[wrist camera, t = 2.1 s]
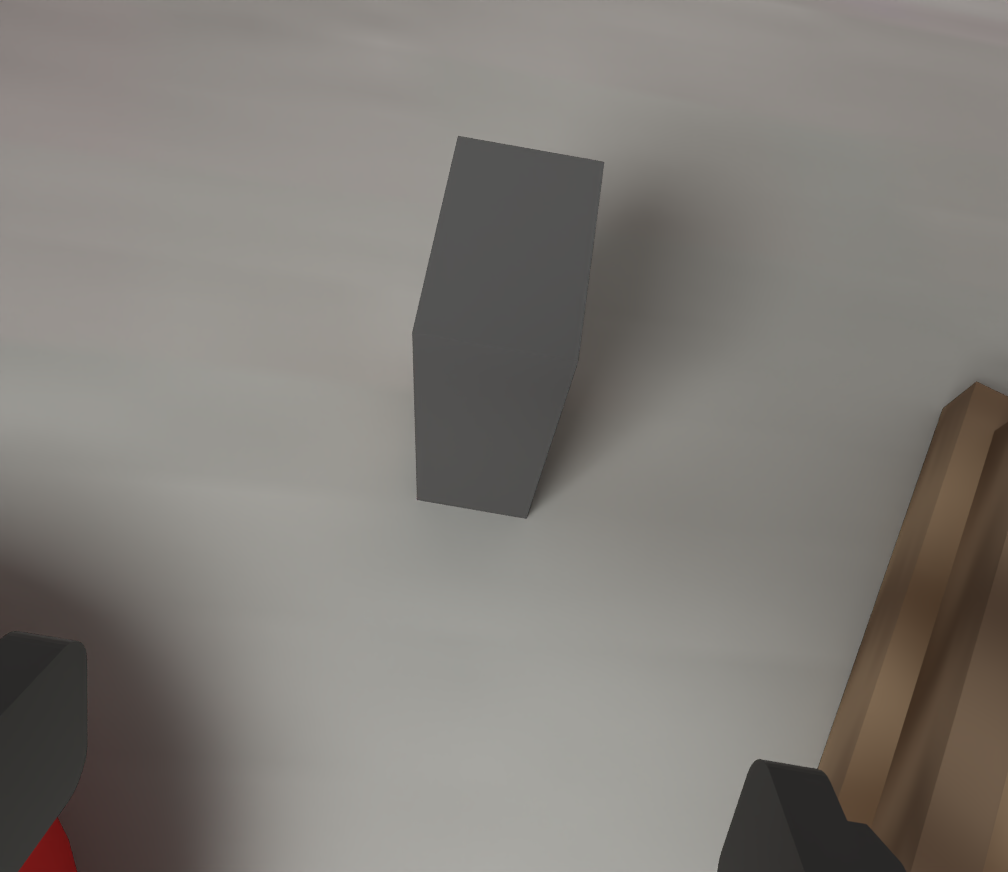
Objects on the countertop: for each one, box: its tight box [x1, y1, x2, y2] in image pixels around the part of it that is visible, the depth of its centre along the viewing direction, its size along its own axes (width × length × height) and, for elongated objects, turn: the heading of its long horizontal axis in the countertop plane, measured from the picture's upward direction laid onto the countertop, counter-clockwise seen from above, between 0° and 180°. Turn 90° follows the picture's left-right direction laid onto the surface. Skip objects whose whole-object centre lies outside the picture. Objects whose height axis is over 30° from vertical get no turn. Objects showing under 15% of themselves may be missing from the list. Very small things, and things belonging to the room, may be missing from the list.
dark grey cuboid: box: [412, 136, 604, 518], centre depth 23 cm, size 6×4×10 cm, turn 171°
